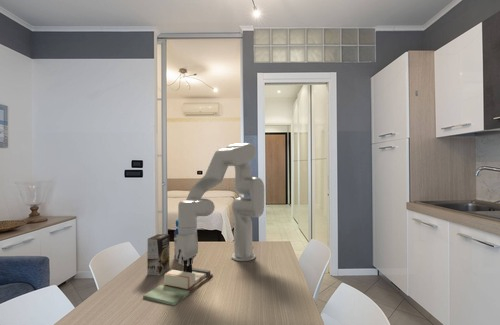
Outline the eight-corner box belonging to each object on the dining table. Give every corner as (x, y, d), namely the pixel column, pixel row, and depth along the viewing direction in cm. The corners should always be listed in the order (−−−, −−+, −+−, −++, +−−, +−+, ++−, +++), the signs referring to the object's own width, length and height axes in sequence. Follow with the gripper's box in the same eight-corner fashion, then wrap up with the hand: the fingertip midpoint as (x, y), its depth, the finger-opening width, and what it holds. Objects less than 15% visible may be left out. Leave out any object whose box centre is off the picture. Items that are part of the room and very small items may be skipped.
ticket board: (185, 271, 121) (185, 265, 121) (212, 276, 115) (212, 269, 115) (143, 298, 96) (143, 290, 97) (174, 305, 91) (174, 297, 91)
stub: (172, 279, 110) (172, 269, 110) (194, 283, 105) (194, 273, 105) (164, 284, 105) (164, 274, 105) (187, 288, 101) (187, 278, 101)
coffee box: (159, 276, 116) (159, 239, 117) (146, 275, 118) (146, 238, 118) (170, 268, 125) (170, 234, 125) (157, 267, 126) (157, 233, 127)
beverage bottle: (193, 256, 141) (193, 219, 141) (182, 261, 134) (181, 222, 134) (182, 254, 145) (182, 217, 146) (170, 258, 138) (170, 220, 138)
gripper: (190, 225, 119) (190, 266, 119) (168, 233, 105) (168, 279, 105) (204, 227, 116) (205, 269, 116) (184, 235, 102) (184, 282, 102)
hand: (187, 274), depth 110 cm, fingers closed
